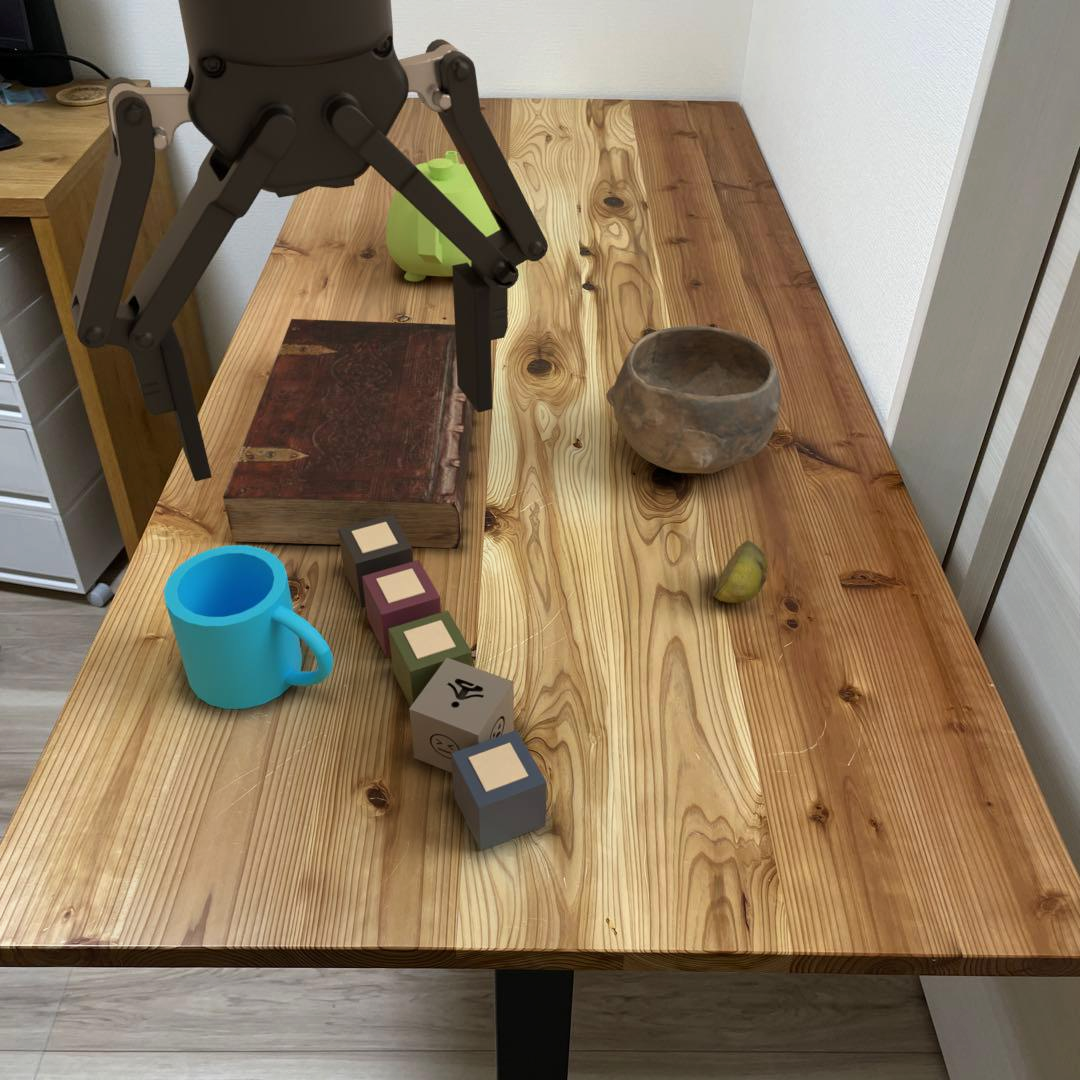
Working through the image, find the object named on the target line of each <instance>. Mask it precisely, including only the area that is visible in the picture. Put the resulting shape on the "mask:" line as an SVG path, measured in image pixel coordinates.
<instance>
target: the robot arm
mask: <svg viewBox="0 0 1080 1080" xmlns="http://www.w3.org/2000/svg"><path fill="white" fill-rule="evenodd" d="M177 1H178V7H179V11H180V16H181V17H180V18H181V22H182V28H183V32H184V37H185V43H186V48H187V54H188V71H187V76H186V79H185V82H184V84H183V86H138V85H137V84H136V83H135V82H134V81H133V80H131V79H130V78H128V77H124V76H119V77H115V78H113V79H111V80H110V81H109V82H108V84H107V86H106V88H105V98H106V99H105V100H106V107H107V116H108V124H109V132H110V138H111V141H110V144H109V149H108V153H107V157H106V161H105V165H104V169H103V173H102V177H101V181H100V185H99V188H98V193H97V196H96V200H95V204H94V209H93V212H92V217H91V221H90V224H89V229H88V232H87V236H86V241H85V245H84V249H83V252H82V256H81V260H80V264H79V269H78V272H77V277H76V281H75V284H74V288H73V292H72V296H71V300H70V306H69V310H70V314H71V318H72V321H73V325H74V329H75V332H76V336H77V339H78V341H79V343H81V345H83V346H84V347H86V348H89V349H99V348H103V347H104V346H106V345H108V346H109V345H110V346H118V347H121V348H124V349H125V350H126V351H128V352H129V354H130V357H131V361H132V364H133V367H134V372H135V375H136V379H137V383H138V387H139V390H140V393H141V396H142V398H143V401H144V406H145V408H146V409H147V410H148V411H149V412H150V414H152V416H158V415H162V414H163V415H164V414H168V413H172V412H173V414H174V419H175V423H176V426H177V430H178V435H179V439H180V443H181V446H182V450H183V453H184V455H185V457H186V462H187V464H188V466H189V469H190V472H191V475H192V478H193V480H194V482H200V481H204V480H208V479H212V478H213V475H212V472H211V468H210V467H211V466H210V463H209V459H208V454H207V451H206V446H205V445H206V444H205V441H204V437H203V433H202V429H201V424H200V419H199V416H198V412H197V411H198V410H197V408H196V402H195V399H194V394H193V389H192V385H191V382H190V377H189V373H188V369H187V364H186V361H185V356H184V355H185V354H184V352H183V348H182V345H181V343H180V340H179V338H178V335H177V333H176V331H175V329H174V326H173V324H174V322H175V321H176V319H177V317H178V316H179V314H180V312H181V311H182V309H183V308H184V306H185V304H186V302H187V301H188V300H189V298H190V296H191V294H192V293H193V291H194V290H195V288H196V286H197V285H198V283H199V282H200V280H201V278H202V276H203V275H204V273H205V272H206V271H207V268H208V267H209V265H210V264H211V262H212V260H213V259H214V257H215V256H216V254H217V252H218V251H219V249H220V248H221V246H222V244H223V242H224V241H225V239H226V238H227V236H228V235H229V233H230V231H231V229H232V227H233V226H234V224H235V223H236V221H237V220H239V219H241V218H244V216H245V215H246V214H247V213H248V212H249V211H250V209H251V207H252V206H253V204H254V202H255V201H256V199H257V197H258V195H259V194H260V192H261V191H265V192H267V193H272V194H275V195H276V197H278V198H285V197H292V196H298V195H301V194H303V193H304V192H307V191H310V190H311V189H314V188H317V187H318V188H319V187H320V188H329V189H342V188H347V187H354V186H356V183H355V181H356V180H357V179H359V178H360V177H362V176H363V175H364V174H365V173H366V172H367V171H368V170H369V168H373V169H374V171H376V172H377V174H379V176H380V177H382V178H383V179H384V180H385V181H386V182H387V183H388V184H389V185H390V186H391V187H393V188H394V190H395V191H396V190H397V191H398V192H399V193H401V194H402V195H403V196H404V197H405V198H406V199H407V200H408V201H409V202H410V203H411V204H412V205H413V206H414V207H415V208H416V209H417V210H418V211H419V212H420V213H421V214H423V215H424V216H425V217H426V218H427V219H428V220H429V221H430V222H431V223H432V224H433V225H434V226H435V227H436V228H437V229H438V230H439V231H440V232H441V233H442V234H443V235H444V236H445V237H447V238H448V239H449V240H450V241H451V242H452V243H453V244H454V245H455V246H456V247H457V248H458V249H459V250H460V251H461V252H462V253H463V254H464V255H465V256H466V257H467V258H468V259H470V260H471V266H470V265H469V264H468V263H462V264H457V265H452V271H453V276H452V290H453V292H452V293H453V307H454V308H453V309H454V310H453V313H454V315H453V316H454V325H455V339H456V361H457V384H458V387H459V388H460V389H461V391H462V392H463V393H464V395H465V396H466V397H467V398H468V400H469V401H470V402H471V404H472V405H473V406H474V410H475V411H476V412H477V413H482V412H485V411H490V410H493V379H492V376H493V375H492V374H493V373H492V372H493V371H492V341H494V340H500V339H504V338H505V336H506V333H507V331H508V328H509V317H508V315H509V310H508V307H509V303H508V301H509V300H508V299H509V298H508V296H509V295H508V291H509V289H510V288H512V287H513V286H514V285H516V283H517V282H518V280H519V276H520V274H519V273H520V272H519V269H518V267H517V266H520V265H521V264H522V263H524V262H526V261H529V262H538V261H540V260H542V259H543V258H544V257H545V256H546V254H547V252H548V250H549V249H548V248H549V245H548V241H547V239H546V236H545V234H544V233H543V231H542V228H541V226H540V225H539V223H538V221H537V219H536V217H535V214H534V213H533V211H532V209H531V207H530V205H529V203H528V200H527V199H526V197H525V195H524V193H523V191H522V189H521V188H520V185H519V184H518V182H517V180H516V177H515V176H514V174H513V171H512V170H511V168H510V166H509V164H508V162H507V160H506V158H505V156H504V154H503V152H502V150H501V148H500V146H499V144H498V142H497V140H496V138H495V136H494V134H493V132H492V130H491V128H490V126H489V124H488V123H487V120H486V118H485V117H484V113H482V110H481V104H480V103H481V102H480V97H479V96H480V95H479V94H480V93H479V87H478V79H477V72H476V71H477V70H476V66H475V63H474V61H473V60H472V59H471V58H470V57H469V56H468V55H466V54H465V53H464V52H462V51H460V50H459V49H458V48H456V47H455V46H454V45H453V44H452V43H451V42H449V41H448V40H445V39H443V38H440V39H435V40H433V41H431V42H430V43H429V44H428V46H427V47H426V50H425V52H424V53H421V54H415V55H412V56H408V57H403V58H400V59H399V57H398V55H397V53H396V50H395V46H394V45H395V44H394V23H393V13H392V0H177ZM409 93H416V94H417V97H418V99H419V101H420V102H422V104H423V105H425V106H426V108H428V109H429V110H430V111H433V112H434V113H437V115H438V117H439V119H440V121H441V123H442V124H443V127H444V129H445V130H446V132H447V134H448V135H449V137H450V139H451V141H452V143H453V145H454V147H455V149H456V151H457V153H458V155H459V156H460V158H461V159H462V162H463V164H465V165H466V167H467V169H468V171H469V173H470V174H471V176H472V178H473V180H474V182H475V184H476V185H477V187H478V189H479V191H480V193H481V195H482V197H483V198H484V200H485V202H486V204H487V206H488V208H489V209H490V211H491V213H492V215H493V217H494V219H495V220H496V222H497V224H498V226H499V228H500V230H498V231H497V232H495V233H493V234H491V235H490V236H488V237H486V236H485V235H484V234H483V233H482V232H481V231H480V230H479V229H478V228H477V227H476V226H475V225H474V224H473V223H472V222H471V221H470V220H469V219H468V218H467V217H466V216H465V215H464V214H463V213H462V212H461V211H460V210H459V209H458V208H457V207H456V206H455V205H454V204H453V203H452V202H451V201H450V200H449V199H448V198H447V197H446V196H445V195H444V194H443V193H442V192H441V191H440V190H439V189H438V188H437V187H436V186H435V185H434V184H433V183H432V182H431V181H430V180H429V179H428V178H427V177H426V176H425V175H424V174H423V173H422V172H421V171H420V170H419V169H418V168H417V167H416V164H414V163H413V162H412V161H411V160H410V159H409V158H408V157H407V156H406V155H405V154H404V153H403V152H402V151H401V150H400V149H399V148H398V147H397V146H396V144H394V143H393V142H392V141H391V140H390V139H389V138H388V135H389V133H390V131H391V129H392V128H393V125H394V123H395V122H396V120H397V118H398V117H399V115H400V113H401V111H402V109H403V108H404V105H405V104H406V102H407V100H408V96H409ZM186 123H192V125H193V126H194V127H195V128H196V130H198V132H199V133H200V134H201V135H203V137H205V138H206V140H208V141H209V142H210V144H211V146H210V149H209V150H208V152H207V154H206V156H205V157H204V159H203V161H202V162H201V164H200V165H199V168H198V172H197V177H196V181H195V182H194V184H193V186H192V188H191V189H190V191H189V192H188V195H187V196H186V198H185V200H184V201H183V202H182V204H181V206H180V208H179V210H178V211H177V213H176V215H175V216H174V217H173V220H172V221H171V223H170V225H169V226H168V228H167V230H166V232H165V233H164V234H163V237H162V238H161V240H160V241H159V243H158V245H157V247H156V249H155V250H154V252H153V254H152V255H151V257H149V260H148V262H147V263H146V265H145V267H144V269H143V270H142V271H141V274H140V275H139V277H138V279H137V280H136V282H135V283H134V285H133V286H132V289H131V290H130V293H128V295H127V297H126V299H125V300H124V302H122V296H123V292H124V289H125V284H126V281H127V278H128V274H129V270H130V266H131V264H132V259H133V257H134V253H135V252H134V251H135V248H136V244H137V241H138V238H139V234H140V230H141V226H142V223H143V219H144V215H145V213H146V208H147V204H148V201H149V197H150V194H151V190H152V187H153V181H154V178H155V177H154V176H155V169H156V153H163V152H165V151H167V150H168V149H169V148H170V147H171V146H172V145H173V142H174V138H175V137H174V136H175V133H176V130H177V129H178V128H179V127H181V125H184V124H186Z"/></svg>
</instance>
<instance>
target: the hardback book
mask: <svg viewBox="0 0 1080 1080" xmlns="http://www.w3.org/2000/svg"><path fill="white" fill-rule="evenodd" d="M269 373H270V374H269V375H268V378H267V382H266V384H265V387H264V389H263V391H262V394H261V397H260V400H259V402H258V405H257V407H256V410H255V412H254V415H253V418H252V420H251V423H250V425H249V428H248V431H247V433H246V436H245V438H244V441H243V444H242V445H241V449H240V451H239V454H238V457H237V458H236V461H235V464H234V467H233V470H232V472H231V475H230V477H229V479H228V483H227V485H226V487H225V490H224V493H223V495H222V499H223V503H224V508H225V512H226V516H227V520H228V524H229V529H230V533H231V538H232V541H233V542H249V543H251V542H252V543H282V544H308V545H309V544H312V545H313V544H314V545H340V540H339V533H338V529H339V528H343V527H347V526H350V525H354V524H358V523H361V522H365V521H369V520H373V519H376V518H380V517H384V516H387V515H391V514H393V515H394V517H395V519H396V521H397V522H398V524H399V526H400V528H401V529H402V531H403V533H404V534H405V536H406V538H407V540H408V541H409V543H410V545H411V547H412V548H435V549H436V548H437V549H438V548H439V549H458V548H459V544H460V540H461V536H462V526H463V515H464V507H465V498H466V487H467V479H468V470H469V469H468V468H469V459H470V450H471V440H472V431H473V421H474V412H475V408H474V406H473V405H472V404H471V402H470V401H469V400H468V398H467V397H466V396H465V395H464V393H463V392H462V391H461V389H460V388H459V387H458V384H457V361H456V339H455V323H452V324H451V323H450V324H448V323H426V322H425V323H424V322H423V323H422V322H421V323H420V322H395V321H394V322H392V321H391V322H390V321H366V320H365V321H363V320H335V319H305V318H304V319H303V318H302V319H301V318H291V319H290V321H289V324H288V326H287V330H286V332H285V334H284V337H283V340H282V342H281V345H280V347H279V350H278V353H277V355H276V358H275V361H274V363H273V365H272V367H271V370H270V372H269Z"/></svg>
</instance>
